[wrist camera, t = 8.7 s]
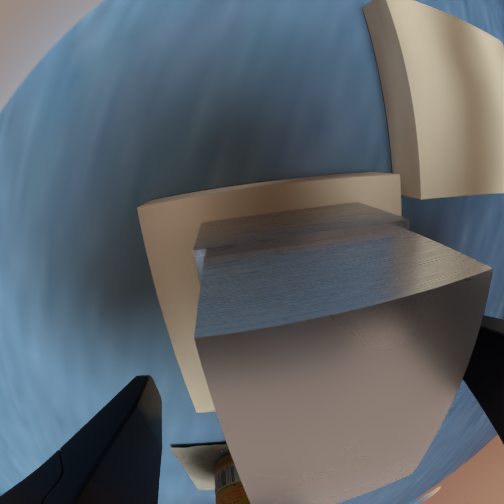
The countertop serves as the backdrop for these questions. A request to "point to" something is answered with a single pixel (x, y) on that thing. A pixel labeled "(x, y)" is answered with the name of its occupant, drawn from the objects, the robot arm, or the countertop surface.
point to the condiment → (213, 472)
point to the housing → (331, 346)
